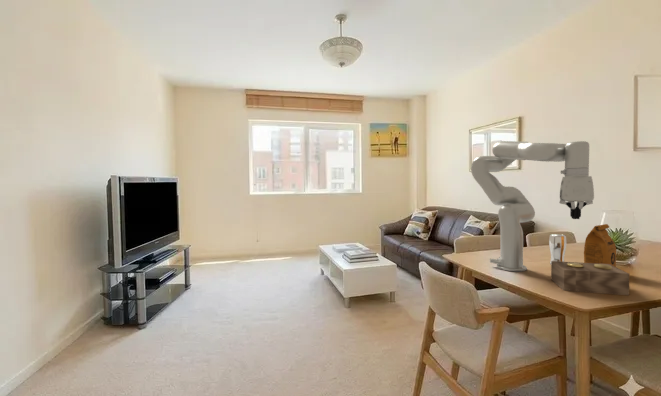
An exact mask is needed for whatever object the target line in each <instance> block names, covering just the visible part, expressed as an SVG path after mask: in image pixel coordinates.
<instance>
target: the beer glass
mask: <svg viewBox="0 0 661 396" xmlns="http://www.w3.org/2000/svg"><path fill="white" fill-rule="evenodd" d="M548 245H549V251H550V262H549V264H550V265H551V261H559V262H565V254H566V250H567V236H566V234H559V233H551V234H549V238H548Z"/></svg>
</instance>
